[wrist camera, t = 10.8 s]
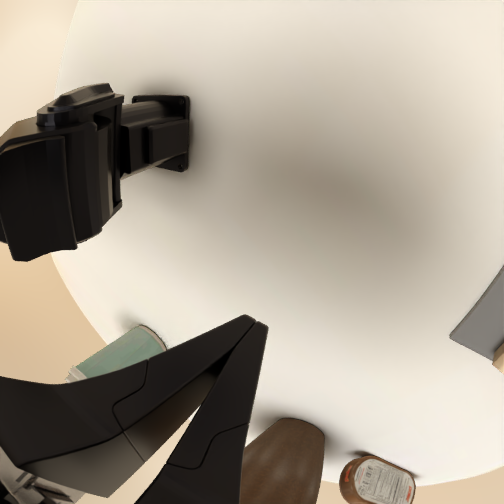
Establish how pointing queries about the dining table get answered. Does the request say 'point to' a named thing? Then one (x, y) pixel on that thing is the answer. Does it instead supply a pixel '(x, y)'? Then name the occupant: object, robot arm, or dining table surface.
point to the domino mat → (484, 321)
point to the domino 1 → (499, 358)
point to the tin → (376, 482)
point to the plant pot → (283, 465)
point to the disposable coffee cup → (119, 354)
